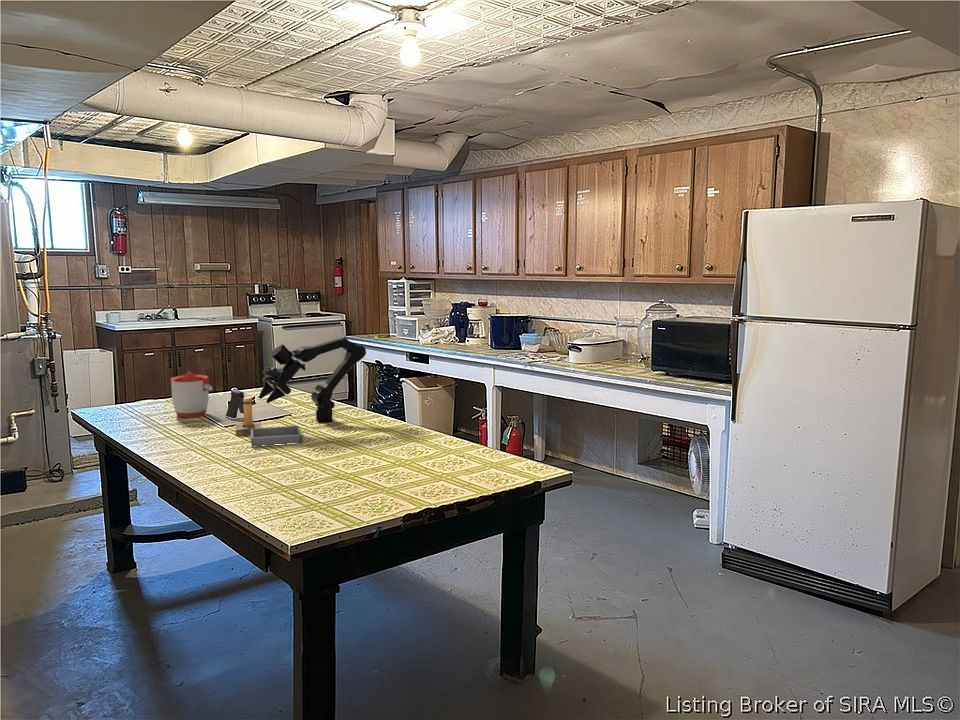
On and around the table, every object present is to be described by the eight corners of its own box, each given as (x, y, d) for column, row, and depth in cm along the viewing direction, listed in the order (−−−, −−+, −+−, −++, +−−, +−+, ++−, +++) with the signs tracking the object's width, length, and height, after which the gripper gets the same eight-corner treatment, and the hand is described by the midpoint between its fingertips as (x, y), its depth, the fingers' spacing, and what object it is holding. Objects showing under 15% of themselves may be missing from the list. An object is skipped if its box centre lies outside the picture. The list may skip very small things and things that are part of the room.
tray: (298, 433, 282) (298, 425, 282) (301, 443, 269) (301, 435, 268) (250, 437, 276) (250, 428, 276) (251, 447, 263) (251, 438, 262)
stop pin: (252, 430, 286) (251, 397, 284) (253, 432, 283) (251, 399, 281) (244, 430, 285) (243, 397, 283) (244, 433, 282) (243, 399, 280)
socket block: (261, 427, 290) (260, 421, 290) (261, 434, 281) (261, 428, 281) (235, 429, 287) (235, 423, 287) (235, 435, 278) (235, 429, 278)
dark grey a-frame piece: (232, 420, 302) (231, 393, 300) (225, 417, 306) (224, 391, 304) (251, 416, 308) (250, 390, 306) (244, 414, 312) (243, 388, 310)
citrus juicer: (206, 419, 302) (204, 374, 298) (166, 419, 302) (163, 374, 298) (219, 411, 317) (217, 368, 314) (181, 410, 317) (179, 367, 314)
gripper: (266, 356, 294) (241, 384, 289) (282, 362, 279) (256, 392, 274) (285, 372, 300) (260, 400, 295) (301, 380, 285) (276, 409, 280)
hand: (263, 400), depth 286 cm, fingers open, 9 cm apart
